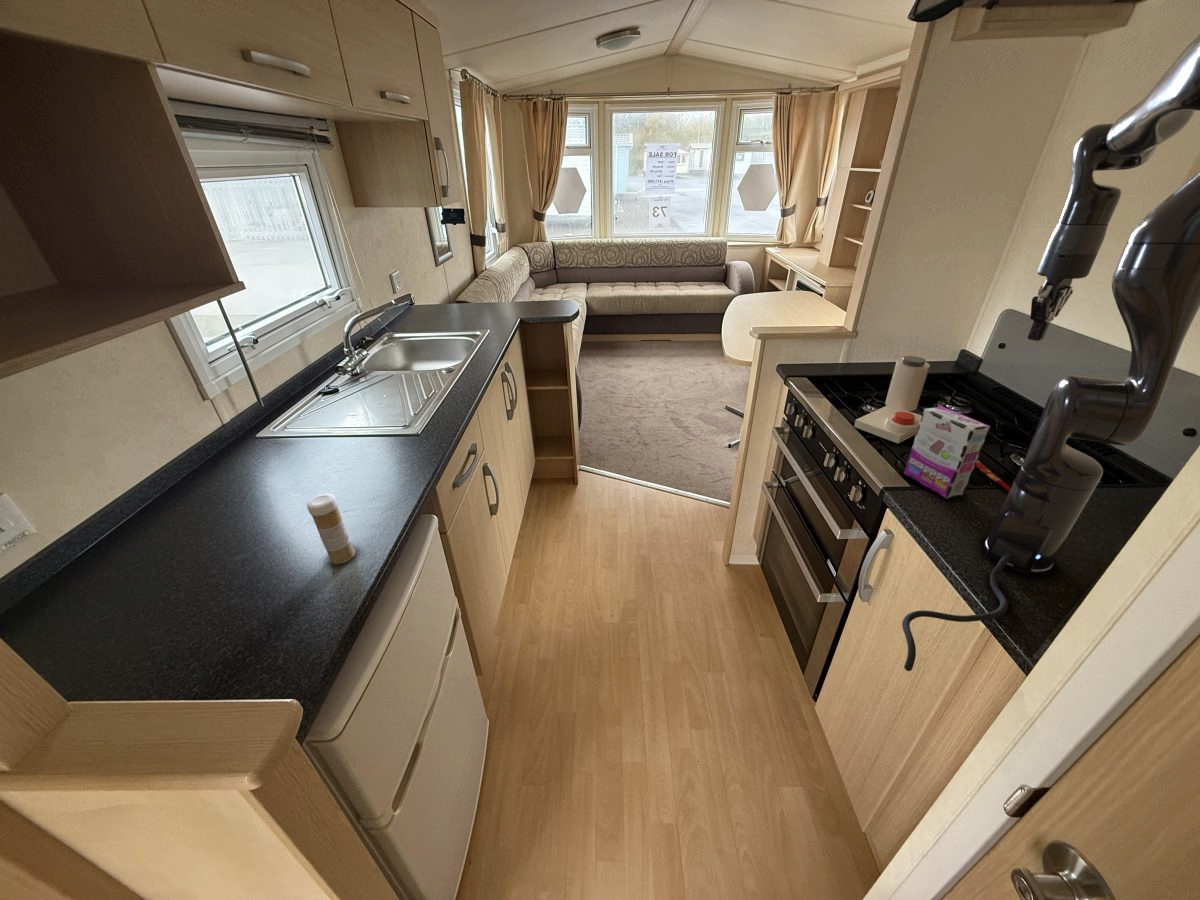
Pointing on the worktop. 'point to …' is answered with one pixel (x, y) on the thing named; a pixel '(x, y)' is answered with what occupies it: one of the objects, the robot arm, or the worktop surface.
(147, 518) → the worktop surface
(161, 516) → the worktop surface
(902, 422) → the switch
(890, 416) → the cream square base
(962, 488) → the candy bar box
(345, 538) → the sprinkles bottle
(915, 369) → the white canister
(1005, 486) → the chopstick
